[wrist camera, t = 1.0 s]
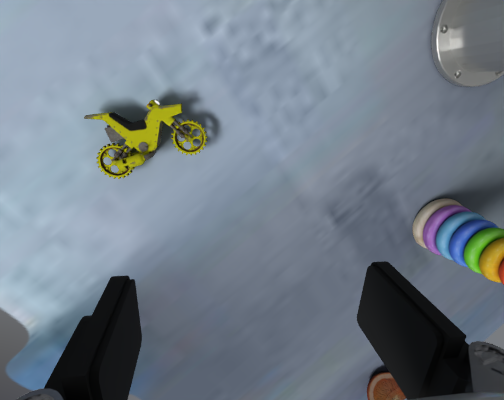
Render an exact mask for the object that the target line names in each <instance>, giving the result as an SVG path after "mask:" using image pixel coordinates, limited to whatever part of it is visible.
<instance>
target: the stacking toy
mask: <svg viewBox="0 0 504 400" xmlns="http://www.w3.org/2000/svg"><path fill="white" fill-rule="evenodd" d="M413 236H414V238H415V240H416V242H417V243H418V244H419V245H420V246H422V247H424V248H426V249H429V250H430V251H431V252H433V253H435V254H437V255H443V256H444V257H445V258H447V259H450V260H454V261H455V262H456V263H458V264H460V265H462V266H465V267H469V268H470V269H471V270H473V271H474V272H477V273H480V274H483V275H484V276H485V277H486V278H487V279H489V280H491V281H494V282H502V283H503V284H504V229H501V228H498V227H497V226H496V225H495V224H494V223H492V222H490V221H487V220H486V219H485V218H484V217H483V216H481V215H480V214H477V213H475V212H471V211H470V210H469V209H468V208H466V207H463V206H462V205H461V204H460V203H459V202H457V201H455V200H452V199H438V200H435V201H432V202H431V203H429V204H427V205H426V206H425V207H424V208H422V210H421V211H420V212H419V213H418V215H417V216H416V218H415V220H414V223H413Z"/></svg>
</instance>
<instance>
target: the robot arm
mask: <svg viewBox="0 0 504 400" xmlns="http://www.w3.org/2000/svg"><path fill="white" fill-rule="evenodd" d="M431 47H432V55H433V59H434V62H435V65H436V67H437V69H438V70H439V72H440V74H441V75H442V76H443V77H444V78H445V79H446V80H447V81H449V82H451V83H452V84H455V85H458V86H463V87H474V86H481V85H485V84H488V83H490V82H492V81H494V80H496V79H498V78H499V77H501V76H502V75H503V74H504V0H443V1H442V3H441V5H440V7H439V9H438V11H437V14H436V17H435V20H434V24H433V30H432V39H431ZM357 321H358V324H359V326H360V328H361V329H362V331H363V332H364V334H365V335H366V337H367V338H368V340H369V341H370V343H371V345H372V346H373V348H374V349H375V351H376V352H377V354H378V355H379V357H380V358H381V360H382V361H383V363H384V364H385V366H386V368H387V369H388V371H389V372H390V374H391V375H392V377H393V378H394V380H395V381H396V383H397V384H398V386H399V387H400V389H401V390H402V392H403V394H404V395H405V397H406V398H407V400H504V350H503V349H502V348H500V347H498V346H495V345H493V344H489V343H486V342H480V341H476V342H472V343H471V344H470V345H468V344H467V343H466V342H465V338H466V335H465V334H464V333H463V332H462V331H461V330H460V329H459V328H458V327H456V326H455V325H454V324H453V323H452V322H451V321H450V320H449V319H448V318H447V317H446V316H445V315H444V314H443V313H442V312H441V311H439V310H438V309H437V308H436V307H435V306H434V305H433V304H432V303H431V302H430V301H429V300H428V299H427V298H426V297H425V296H424V295H423V294H421V293H420V292H419V291H418V290H417V289H416V288H415V287H414V286H413V285H412V284H411V283H410V282H409V281H408V280H407V279H406V278H404V277H403V276H402V275H401V274H400V273H399V272H398V271H397V270H396V269H395V268H394V267H393V266H392V265H391V264H390V263H388V262H373V263H372V264H371V266H369V267H368V268H367V272H366V277H365V282H364V286H363V291H362V295H361V300H360V305H359V309H358V314H357ZM141 341H142V334H141V326H140V318H139V310H138V302H137V294H136V286H135V280H134V279H131V280H130V278H129V276H113V277H111V278H110V280H109V282H108V284H107V286H106V288H105V290H104V292H103V294H102V296H101V298H100V300H99V302H98V304H97V306H96V308H95V310H94V312H93V314H92V316H84V317H83V318H82V319H81V320H80V322H79V324H78V326H77V328H76V329H75V331H74V333H73V335H72V337H71V339H70V341H69V342H68V344H67V346H66V348H65V350H64V352H63V354H62V355H61V357H60V359H59V361H58V363H57V365H56V367H55V368H54V370H53V372H52V374H51V376H50V378H49V380H48V381H47V383H46V385H45V387H44V389H38V390H35V391H31V392H29V393H27V394H25V395H23V396H21V397H19V398H18V399H16V400H127V399H128V395H129V391H130V387H131V383H132V379H133V375H134V371H135V367H136V363H137V359H138V355H139V351H140V347H141Z"/></svg>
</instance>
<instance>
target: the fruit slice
mask: <svg viewBox="0 0 504 400" xmlns="http://www.w3.org/2000/svg"><path fill="white" fill-rule="evenodd" d="M367 397H368V400H404V399H406V397H405V395H404V394H403V392H402V390H401V389H400V387H399V386H398V384H397V383H396V381H395V380H394V378H393V377H392V375H391V374H390V372H382V373H378V374H376V375H374V376H373V377H372V378H371V379H370V381H369V383H368V387H367Z"/></svg>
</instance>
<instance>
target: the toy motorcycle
mask: <svg viewBox="0 0 504 400" xmlns="http://www.w3.org/2000/svg"><path fill="white" fill-rule="evenodd" d="M146 107H147V108H148V109H149V112H148V114H147V116H146V117H145V119H143V120H140V121H137V122H134V123H132V122H130V121H128V120H126V119H125V118H123V117H121V116H120V115H118V114H116V113H115V112H108V113H100V114H92V115H86V116H85V117H84V119H100V120H104V121H105V122H106V123H107V124H109V125H108V126H107V128H105V130H106V133H107V135H108V137H109V139H110V141H111V142H114V141H117V140H121V139H125V140H127V141H126V142H125V144H124V145H122V146H121V145H119V144H120V143H118V144H117V145H115V143H112V145H110V144H107V147H106V145H105V146H103V148H104V149H100V151H101V152H99V153H97V154H98V155H99V156H98V157H97V158H96V159H98V162H97V163H99V166H98V168H101V169H102V170H101V172H102V171H104V172H105V175H106V174H107V175H109V177H111V176H112V177H114V179H115V178H116V177H118V179H120V178H121V177H123V178H124V177H125V175H126V176H128V175H129V173H132V170H133V169H134V168H135V167H136V166H139V165H142V164H143V163H144V162H145V161H146V160H147V159H150V158H151V157H153V156H154V154H155V153H156V148H157V147H158V145H160V143H161V136H162V134H161V133H162V132H161V131H162V128H163V122H164V123H166V124H167V125H168V126H170V127H171V128H173V131H174V133H172V134H171V135H173V137H172V138H171V139H173V140H174V142H173V144H174V143H175V145H176V146H175V148H176V147H177V148H178V151H179V150H180V151H182V154H183V152H184V153H186V155H187V154H191V155H192V154H193V153H195V155H196V152H199V153H200V150H201V149H202V150H203V146H206V144H205V142H207V140H206V138H207V136H205V133H206V132H204V130H203V129H204V127H203V128H202V127H201V124H200V125H199V124H197V121H196V123H195V122H193V120H192V121H189V119H187V121H184V120H183V122H182V123H180V122H179V123H178V121H177V120H176V119H175V118H174V117H173V116H174V115H177V114H179V113H182V104H174V105H166V106H160V103H159V102H158V100H151V101H150V102H149V104H148V105H147V106H146ZM172 123H175V124H176V125H175V126H174V125H173V124H172ZM177 125H178V126H177ZM185 125H188V126H189V127H190V128H191V131H190V132H189V131H188V129H187V128H185V127H184V126H185ZM195 128H196V129H199V130H200V132H201V133H200V135H199V136H198V137H195V136H194V135H193V134H192V131H193V129H195ZM183 131H184V132H183ZM186 133H187V134H186ZM179 134H180V135H181V136H180V135H179ZM177 135H179V136H180V137H181V138H185V140H184V141H182V142H180V141H178V140H177ZM194 139H199V140H200V141H201V144H200V146H197V147H196V146H194V145H193V140H194ZM184 142H190V143H191V148H190V149H189V150H187V149H185V148H184V147H183V144H184ZM126 146H129V148H128V147H127V148H126ZM133 148H135V149H137V150H138V151H137V152H133V153H131V152H132V151H131V149H133ZM110 149H114V150H115V151H116V153H115V155H114V156H115V157H111V156H110V155H109V154H108V151H109V150H110ZM123 152H124V153H123ZM122 153H123V154H122ZM121 155H122V156H121ZM119 156H121V157H120V158H119ZM105 157H109V158H110V159H111V161H112V163H111V164H110V165H106V164H104V162H103V159H104V158H105ZM112 165H116V166H117V167H118V169H119V171H118V172H117V173H114V172H112V171H111V166H112ZM127 165H128V166H127Z"/></svg>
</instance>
